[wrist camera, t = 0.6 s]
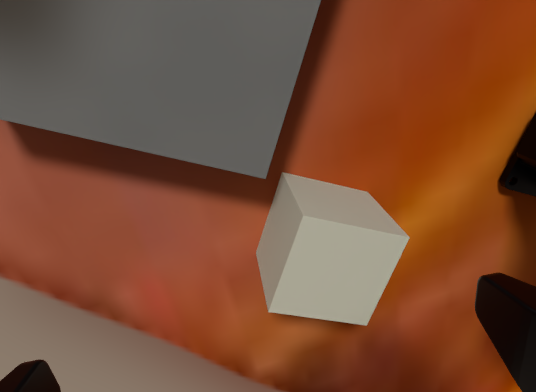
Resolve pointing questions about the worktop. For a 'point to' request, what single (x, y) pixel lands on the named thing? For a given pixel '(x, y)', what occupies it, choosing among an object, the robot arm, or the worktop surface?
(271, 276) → the cube
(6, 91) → the plinth
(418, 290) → the worktop surface
